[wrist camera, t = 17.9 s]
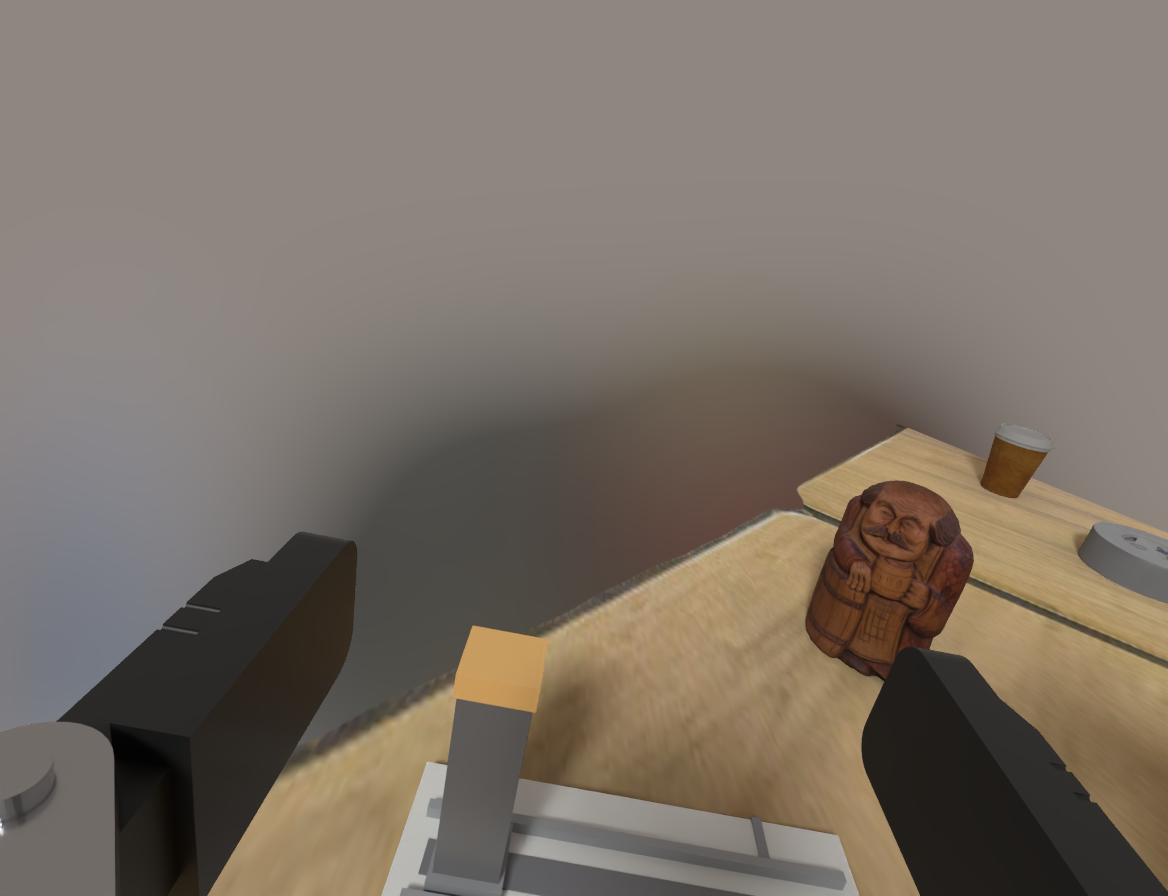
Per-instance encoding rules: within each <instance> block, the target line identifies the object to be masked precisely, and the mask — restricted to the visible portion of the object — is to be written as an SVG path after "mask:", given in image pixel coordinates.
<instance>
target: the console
mask: <svg viewBox="0 0 1168 896" xmlns="http://www.w3.org/2000/svg"><path fill="white" fill-rule="evenodd" d="M446 772H447V765H443V764H437V763H432V762H427V764H426V767H425V770H424V773H423V776H422V779H421V782H420V785H419V788H418V791H417V793H416V796H415V799H414V802H413V805H412V808H411V811H410V814H409V817H408V820H407V823H406V826H405V828H404V831H403V834H402V837H401V840H400V843H399V846H398V849H397V852H396V855H395V858H394V861H393V863H392V866H391V869H390V872H389V875H388V878H387V881H386V884H385V887H384V890H383V893H382V896H448V895H442V894H437V893H431V892H425V891H424V884H425V879H426V876H427V872H428V869H429V865H430V862H431V858H432V855H433V851H434V848H435V844H436V841H437V836H438V829H439V821H440V814H441V807H442V800H443V793H444V786H445V779H446ZM511 823H513V828H512V834H511V840H510V846H509V852H508V858H507V864H506V870H505V876H504V882H503V888H502V894H501V896H859V893H858V890H857V887H856V885H855V882H854V879H853V876H852V873H851V870H850V868H849V865H848V862H847V859H846V856H845V853H844V850H843V848H842V845H841V842H840V839H839V836H838V835H833V834H828V833H822V832H816V831H811V830H805V829H800V828H794V827H789V826H783V825H777V824H772V823H766V822H761V818H759V817H753V816H751V820H750V819H744V818H738V817H733V816H727V815H722V814H716V813H711V812H705V811H699V810H694V809H688V808H683V807H677V806H672V805H666V804H660V803H655V802H649V801H644V800H638V799H633V798H627V797H621V796H616V795H610V794H605V793H599V792H594V791H588V790H582V789H577V788H571V787H566V786H560V785H554V784H549V783H543V782H538V781H532V780H527V779H521V778H519V783H518V788H517V793H516V798H515V803H514V808H513V813H512V818H511Z"/></svg>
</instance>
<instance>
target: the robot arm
mask: <svg viewBox="0 0 1168 896" xmlns="http://www.w3.org/2000/svg"><path fill="white" fill-rule="evenodd" d="M356 569H357V547H356V544H355V542H354V541H349V540H344V539H338V538H333V537H328V536H322V535H317V534H312V533H307V532H299V533H297V534H295V536H293V537H292V538H291V539H290V540H289V541H288V542H287V543H286V544H285V545H284V547H282V548H281V549H280V550H279V551H278V552H277V553H276V554H275V555H274V557H272V558H271V559H270V561H268V562H264V561H259V560H253V559H251V560H249V561H247V562H245V563H243V564H241V565H239V566H237V567H234V568H232V569H230V570H228V571H226V572H224V573H222V574H220V575H218V576H216V577H214V578H213V579H212V580H210V581H209V582H208V583H207V584H206V585H205V586H204V587H203V588H202V589H201V590H200V591H198V592H197V593H196V594H195V595H194V596H193V597H192V598H191V599H190V600H189V601H188V602H187V604H186V607H185V608H182V607H181V608H180V609H179V610H178V611H177V612H176V613H174V614H173V615H172V616H171V617H170V618H169V619H168V620H167V621H166V622H165V623H164V624H163V627H162V629H161V630H156V631H155V632H154V633H153V634H152V635H150V636H149V637H148V638H147V639H146V640H145V641H144V642H143V643H142V644H141V645H140V646H138V647H137V648H136V649H135V650H134V651H133V652H132V653H131V654H130V655H129V656H128V657H126V658H125V659H124V660H123V661H122V662H121V663H120V664H119V665H118V666H117V667H115V669H113V670H112V671H111V672H110V673H109V674H108V675H107V676H106V677H105V678H104V679H103V680H101V681H100V682H99V683H98V684H97V685H96V686H95V687H94V688H93V689H91V690H90V691H89V692H88V693H87V694H86V695H85V696H84V697H83V698H82V699H81V700H80V701H78V702H77V703H76V704H75V705H74V706H73V707H72V708H71V709H70V710H69V711H68V712H66V713H65V714H64V715H63V716H62V717H61V718H60V719H59V720H58V721H56V722H46V723H37V724H31V725H26V726H21V727H17V728H14V729H10V730H7V731H3V732H0V896H207V895H208V893H209V892H210V890H211V888H212V887H213V885H214V883H215V881H216V880H217V878H218V876H219V875H220V873H221V871H222V870H223V868H224V866H225V865H226V863H227V861H228V860H229V858H230V856H231V855H232V853H233V851H234V850H235V848H236V846H237V845H238V843H239V841H240V840H241V838H242V836H243V835H244V833H245V831H246V829H247V828H248V826H249V824H250V823H251V821H252V819H253V818H254V816H255V814H256V813H257V811H258V809H259V808H260V806H261V804H262V803H263V801H264V799H265V798H266V796H267V794H268V793H269V791H270V789H271V788H272V786H273V784H274V783H275V781H276V779H277V778H278V776H279V774H280V772H281V771H282V769H283V767H284V766H285V764H286V762H287V761H288V759H289V757H290V756H291V754H292V752H293V751H294V749H295V747H296V746H297V744H298V742H299V740H300V739H301V737H302V736H303V734H304V732H305V731H306V729H307V727H308V726H309V724H310V722H311V720H312V719H313V717H314V715H315V714H316V712H317V710H318V709H319V707H320V705H321V704H322V702H323V700H324V698H325V697H326V695H327V694H328V692H329V690H330V689H331V687H332V685H333V684H334V682H335V680H336V679H337V677H338V675H339V673H340V671H341V669H342V667H343V665H344V662H345V660H346V657H347V654H348V651H349V647H350V643H351V638H352V632H353V619H354V602H355V585H356ZM862 759H863V764H864V768H865V771H866V773H867V776H868V778H869V780H870V783H871V785H872V787H873V789H874V792H875V794H876V796H877V799H878V801H879V803H880V805H881V808H882V810H883V812H884V814H885V817H886V819H887V821H888V823H889V826H890V828H891V830H892V833H893V835H894V837H895V839H896V842H897V844H898V846H899V848H900V851H901V853H902V855H903V857H904V860H905V862H906V864H907V867H908V869H909V871H910V873H911V876H912V878H913V880H914V882H915V885H916V887H917V889H918V891H919V894H920V896H1168V891H1167V890H1166V889H1165V888H1164V886H1163V885H1162V884H1161V883H1160V881H1159V880H1158V879H1157V878H1156V876H1155V875H1154V874H1153V873H1152V872H1151V870H1150V869H1149V868H1148V867H1147V865H1146V864H1145V863H1144V862H1143V860H1142V859H1141V858H1140V857H1139V855H1138V854H1137V853H1136V852H1135V850H1134V849H1133V848H1132V847H1131V845H1130V844H1129V843H1128V842H1127V840H1126V839H1125V838H1124V837H1123V836H1122V834H1121V833H1120V832H1119V831H1118V829H1117V828H1116V827H1115V826H1114V824H1113V823H1112V822H1111V821H1110V819H1109V818H1108V817H1107V816H1106V814H1105V813H1104V812H1103V811H1102V809H1101V808H1100V807H1099V806H1098V804H1097V803H1094V802H1091V801H1090V799H1089V796H1090V795H1089V793H1088V792H1087V791H1086V790H1085V788H1084V787H1083V786H1082V785H1081V783H1080V782H1079V781H1078V780H1077V778H1076V777H1075V776H1074V775H1073V773H1072V772H1067V771H1066V768H1065V767H1066V765H1065V764H1064V762H1063V761H1062V760H1061V759H1060V757H1059V756H1058V755H1057V754H1056V752H1055V751H1054V750H1053V749H1052V747H1051V746H1050V745H1049V744H1048V742H1047V741H1046V740H1045V739H1044V737H1043V736H1042V735H1041V734H1040V732H1039V731H1038V730H1037V729H1035V728H1034V727H1033V726H1032V725H1031V724H1029V723H1028V722H1027V721H1026V720H1025V719H1023V718H1022V717H1021V716H1020V715H1019V714H1017V713H1016V712H1015V711H1014V710H1013V709H1012V708H1010V707H1009V706H1008V705H1007V704H1006V703H1004V702H1003V701H1002V700H1001V699H1000V698H999V697H998V696H997V695H996V693H995V692H994V691H993V690H992V688H991V687H990V686H989V684H988V683H987V682H986V681H985V679H984V678H983V677H982V675H981V674H980V673H979V672H978V670H977V669H976V668H975V666H974V665H973V664H972V663H971V662H970V661H969V660H968V659H967V658H965V657H963V656H960V655H954V654H949V653H944V652H938V651H933V650H928V649H922V648H917V647H911V646H909V647H905V648H903V649H902V650H901V651H900V652H899V653H898V654H897V656H896V658H895V660H894V662H893V664H892V666H891V669H890V671H889V673H888V675H887V677H886V680H885V682H884V684H883V686H882V688H881V691H880V693H879V695H878V697H877V699H876V702H875V704H874V706H873V708H872V710H871V713H870V715H869V717H868V719H867V721H866V724H865V726H864V730H863V735H862Z"/></svg>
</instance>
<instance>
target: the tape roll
mask: <svg viewBox="0 0 1168 896" xmlns="http://www.w3.org/2000/svg"><path fill="white" fill-rule="evenodd" d="M1078 554H1079V557H1080V558H1081V560H1082V561H1083V562H1084V563H1085V564H1087V565H1088V566H1089V567H1090V568H1092V569H1093V570H1095V571H1096V572H1098V573H1099V574H1101V575H1102V576H1104V577H1106V578H1108V579H1109V580H1111V581H1113V582H1115V583H1117V584H1119V585H1121V586H1123V587H1125V588H1128V589H1130V590H1132V591H1134V592H1137V593H1139V594H1142V595H1144V596H1147V597H1150V598H1152V599H1155V600H1158V601H1161V602H1165V603H1168V540H1166V539H1163V538H1161V537H1158V536H1155V535H1153V534H1150V533H1147V532H1144V531H1141V530H1137V529H1134V528H1131V527H1127V526H1123V525H1119V524H1113V523H1105V522H1100V523H1096V524H1094V525H1093V527H1092V529H1091V530H1090V532H1089V534H1088V536H1087V537H1086V539H1085V541H1084V543H1083V544H1082V546H1081V548H1080V550H1079V552H1078Z"/></svg>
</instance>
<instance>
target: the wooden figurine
mask: <svg viewBox="0 0 1168 896" xmlns="http://www.w3.org/2000/svg"><path fill="white" fill-rule="evenodd" d="M960 532H961V529H960V526H959V521H958V519H957V517H956V515H955V513H954V511H953V510H952V509H951V507H950V505H949V504H948V503H947V502H946V501H945V500H944V499H943V498H942V497H941V496H939V495H938V494H936V493H935V492H933V491H931V490H929V489H927V488H925V487H923V486H920V485H917V484H914V483H911V482H906V481H887V482H882V483H878V484H876V485H872V486H870V487H869V488H868V489H866V490H864V491H863V493H862V495H859V496H855V497H854V498H852V499H851V500H850V501H849V503H848V505H847V508H846V510H845V513H844V516H843V519H842V521H841V524H840V526H839V528H838V530H837V532H836V534H835V538H834V547H833V548H831V550H830V552H829V553H828V556H827V558H826V560H825V564H824V566H823V569H822V571H821V573H820V576H819V579H818V582H817V584H816V587H815V590H814V593H813V596H812V601H811V603H810V607H809V609H808V613H807V617H806V630H807V632H808V634H809V635H810V638H811V640H812V641H813V642H814V643H815V644H816V645H817V646H818V647H819V648H820V650H821V651H823V652H824V653H825V654H827V655H828V656H830V657H833V658H839V659H841V660H842V661H843V662H844V663H846V664H847V665H848V666H849V667H852V668H855V669H856V670H858V671H859V672H860V673H862V674H864V675H866V676H871V675H877V676H879V677H881V678H882V679H884V680H886V677H887V675H888V673H889V671H890V669H891V666H892V664H893V662H894V660H895V658H896V656H897V654H898V653H899V652H900V651H901V650H902V649H903V648H905V647H909V646H911V647H917V648H922V649H928V650H929V649H930V646H931V643H932V640H933V637H935V636H937V635H939V634H940V633H941V631H942V630H943V628H944V626H945V624H946V622H947V620H948V618H949V616H950V614H951V613H952V611H953V608H954V607H955V605H956V603H957V601H958V599H959V597H960V595H961V593H962V591H963V589H964V587H965V584H966V582H967V580H968V577H969V575H970V572H971V569H972V566H973V562H974V559H973V552H972V548H971V546H970V545H969V543H968V542H967V541H966V539H965V538H964V537H963V536H962V535H961V533H960Z"/></svg>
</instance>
